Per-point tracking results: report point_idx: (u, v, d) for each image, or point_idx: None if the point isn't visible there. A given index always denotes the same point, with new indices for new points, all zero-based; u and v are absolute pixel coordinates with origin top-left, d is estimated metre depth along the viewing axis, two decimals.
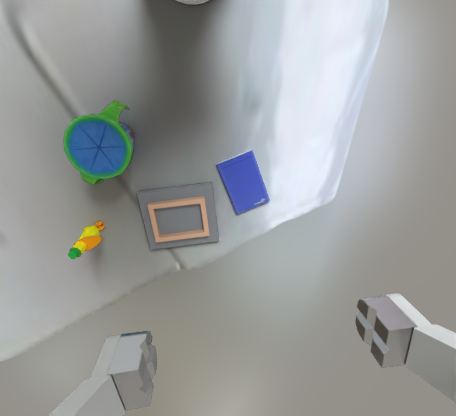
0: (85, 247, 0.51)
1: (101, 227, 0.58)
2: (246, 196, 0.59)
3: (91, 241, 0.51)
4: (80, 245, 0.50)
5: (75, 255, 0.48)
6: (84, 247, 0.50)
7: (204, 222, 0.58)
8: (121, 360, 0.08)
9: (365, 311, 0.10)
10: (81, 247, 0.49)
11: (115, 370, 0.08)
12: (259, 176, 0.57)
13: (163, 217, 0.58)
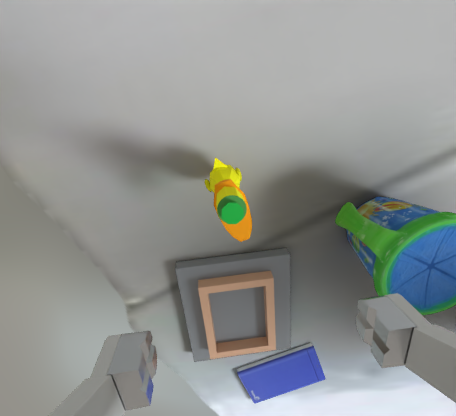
0: None
1: None
2: (264, 382, 0.41)
3: (239, 223, 0.22)
4: None
5: (232, 221, 0.18)
6: None
7: (234, 352, 0.35)
8: (121, 360, 0.08)
9: (365, 311, 0.10)
10: None
11: (115, 370, 0.08)
12: (290, 390, 0.43)
13: (241, 290, 0.33)
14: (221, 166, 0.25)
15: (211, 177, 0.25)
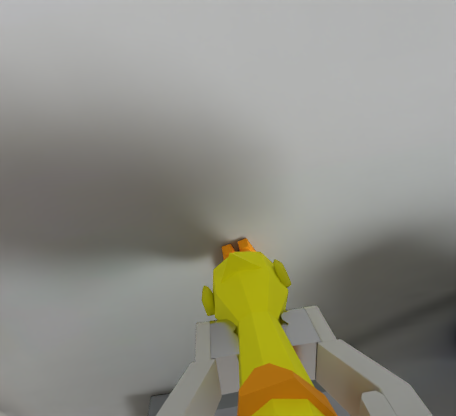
0: None
1: None
2: None
3: None
4: None
5: None
6: None
7: None
8: (220, 345, 0.09)
9: (281, 324, 0.10)
10: None
11: (218, 354, 0.08)
12: None
13: None
14: (243, 267, 0.10)
15: (219, 295, 0.10)
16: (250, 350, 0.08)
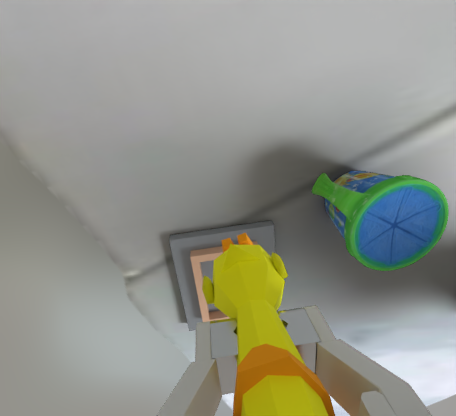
0: None
1: None
2: None
3: None
4: None
5: None
6: None
7: (226, 318, 0.38)
8: (220, 345, 0.09)
9: None
10: None
11: (218, 354, 0.08)
12: None
13: None
14: (243, 258, 0.10)
15: (219, 284, 0.10)
16: (248, 334, 0.08)
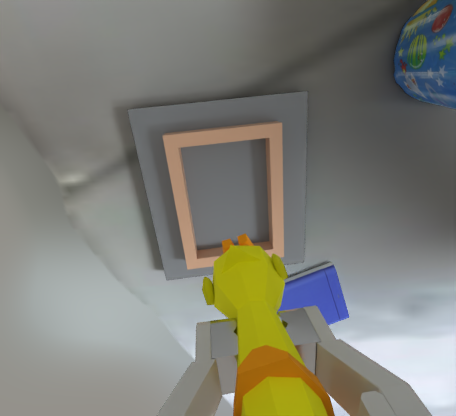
0: None
1: None
2: None
3: None
4: None
5: None
6: None
7: None
8: (220, 345, 0.09)
9: None
10: None
11: (218, 354, 0.08)
12: None
13: (232, 156, 0.22)
14: (243, 259, 0.10)
15: (219, 285, 0.10)
16: (248, 335, 0.08)
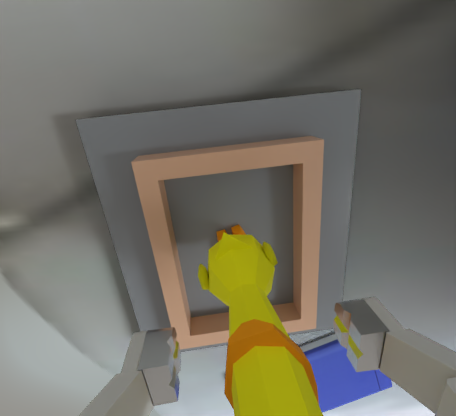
0: None
1: None
2: None
3: None
4: None
5: None
6: None
7: None
8: (150, 356, 0.08)
9: (341, 315, 0.10)
10: None
11: (145, 365, 0.08)
12: (330, 408, 0.24)
13: (242, 188, 0.14)
14: (235, 246, 0.11)
15: (213, 271, 0.11)
16: (239, 313, 0.09)
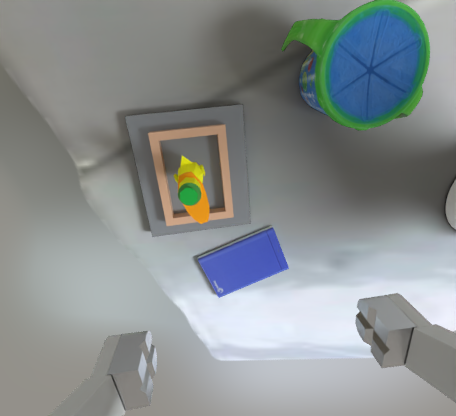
0: None
1: None
2: (226, 269, 0.41)
3: (199, 207, 0.27)
4: None
5: (189, 202, 0.23)
6: None
7: (191, 218, 0.35)
8: (121, 360, 0.08)
9: (365, 311, 0.10)
10: None
11: (115, 370, 0.08)
12: (254, 281, 0.42)
13: (195, 147, 0.33)
14: (187, 162, 0.30)
15: (179, 171, 0.29)
16: None
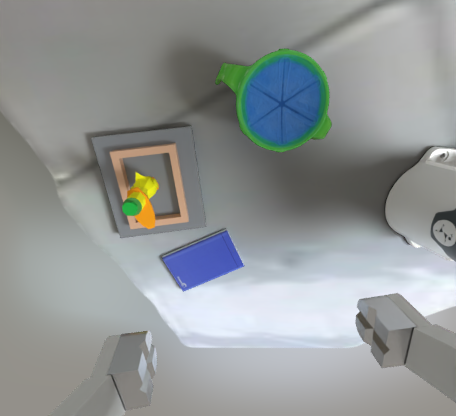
0: None
1: None
2: (187, 267, 0.47)
3: (146, 216, 0.33)
4: (142, 208, 0.31)
5: (130, 214, 0.29)
6: None
7: None
8: (121, 360, 0.08)
9: (365, 311, 0.10)
10: None
11: (115, 370, 0.08)
12: (213, 277, 0.48)
13: (152, 162, 0.39)
14: (141, 177, 0.35)
15: (134, 185, 0.35)
16: None
